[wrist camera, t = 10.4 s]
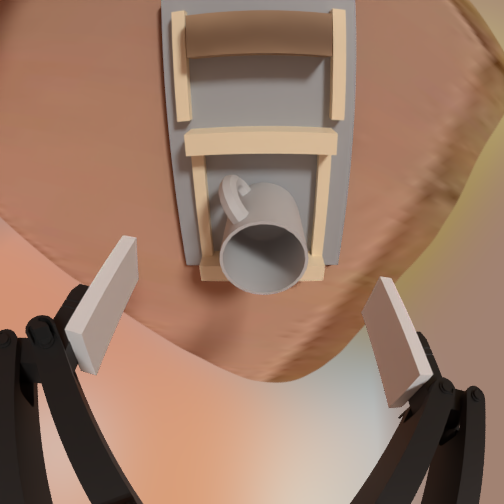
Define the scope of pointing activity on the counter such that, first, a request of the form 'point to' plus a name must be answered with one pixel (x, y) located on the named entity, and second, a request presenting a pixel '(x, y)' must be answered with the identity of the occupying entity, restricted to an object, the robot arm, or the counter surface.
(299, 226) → the cup
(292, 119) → the jig
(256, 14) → the brown rounded bar
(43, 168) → the counter surface
